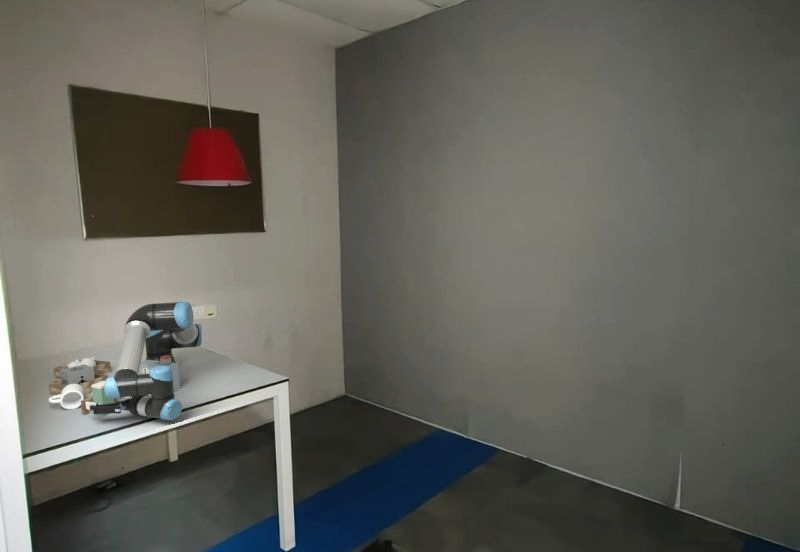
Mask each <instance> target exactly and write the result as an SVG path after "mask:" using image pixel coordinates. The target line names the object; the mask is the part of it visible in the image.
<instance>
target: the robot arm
mask: <svg viewBox="0 0 800 552" xmlns="http://www.w3.org/2000/svg"><path fill="white" fill-rule="evenodd" d="M123 330H124V333H125V336H124V340H123V343H122V347H121V351H120V355H119V358H118V363H117V365H116V370H115V373H114V376H111V377H109V376H108V378H107V379H106V381H105V384H104V391H105V395H106V397H108V398H117V399H121V398H125V399H124V400H123V399H122V400H117V402H115V403H109V404H102V405H100V404H99V403H93V402H85V404H86V409H88V410H90V411H93V413H92V414H93V415H94V414H108V415H111V414H118V415H119V414H121V413H122V411H129V412H130V414H131V415H135V416H136V415H137V416H141V417H142V416H143V417H149V418H155V419H160V420H163V421H164V420H167V421H173V420H175V419H177V418H178V417H179V416H180V415H181V413H182V411H183V405H182V404H183V403H182V402H181V401H180V400H179V399H178V398H177V399H176V398H175V394H174V393H175V391H174V387H173V376H172V369H171V368H170V367H169V366H158V367H154V368H152V369H150V373H149V374H140V375H138V372H139V368H140V363H141V362H142V359H143V353H144V349H145V354H146V358H145V360H156V361H160V357H161V356H164V355H170V356H171V362H173V363H177V361H176V360H175V357H174V355H173V350H174V349H183V348H185V349H186V348H197V347H201V345H202V336H203V335H202V324H200V323H194V310H193V306H192V305H191V303H190V302H188V301H176V302H160V303H159V302H158V303H147V304H145V305H143V306H140V307H139V308H137V309H136V310H135V311H134V312H133V313H131V315H130V316H129V317H128V319H127V320H126V322H125V325H124V329H123Z"/></svg>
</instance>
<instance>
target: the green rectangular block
mask: <svg viewBox="0 0 800 552" xmlns="http://www.w3.org/2000/svg"><path fill="white" fill-rule="evenodd" d="M104 384H105V381H101V382H99V383H96V384H93V385H91V387H92V392H91V393H92V397H93V403H99V404H100V405H102V404H109V403H114V398H108V397H106V395H105V391H104ZM93 415H95V416H100V417H101V416H102V417H105V416H107V415H109V414H93Z"/></svg>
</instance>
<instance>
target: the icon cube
mask: <svg viewBox="0 0 800 552" xmlns="http://www.w3.org/2000/svg"><path fill="white" fill-rule="evenodd" d="M60 377H61V384H66V385H70V384H78V385H79V384H82V383H85V382H88V381H91V380H94V379H95V376H94V368H92V367H90V366H87V365H85V364H84V365H80V366H75V367H71V368H66V369H62V370H60Z"/></svg>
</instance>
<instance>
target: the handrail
mask: <svg viewBox="0 0 800 552" xmlns="http://www.w3.org/2000/svg"><path fill="white" fill-rule="evenodd" d="M85 402H93V396H91V397H88V398H84V400H82V401H81V406H80V408H81V415H84V416H86V415H88V414H90V413H89V410H88V409H86V404H85ZM117 402H118V398H114V403H117Z"/></svg>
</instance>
